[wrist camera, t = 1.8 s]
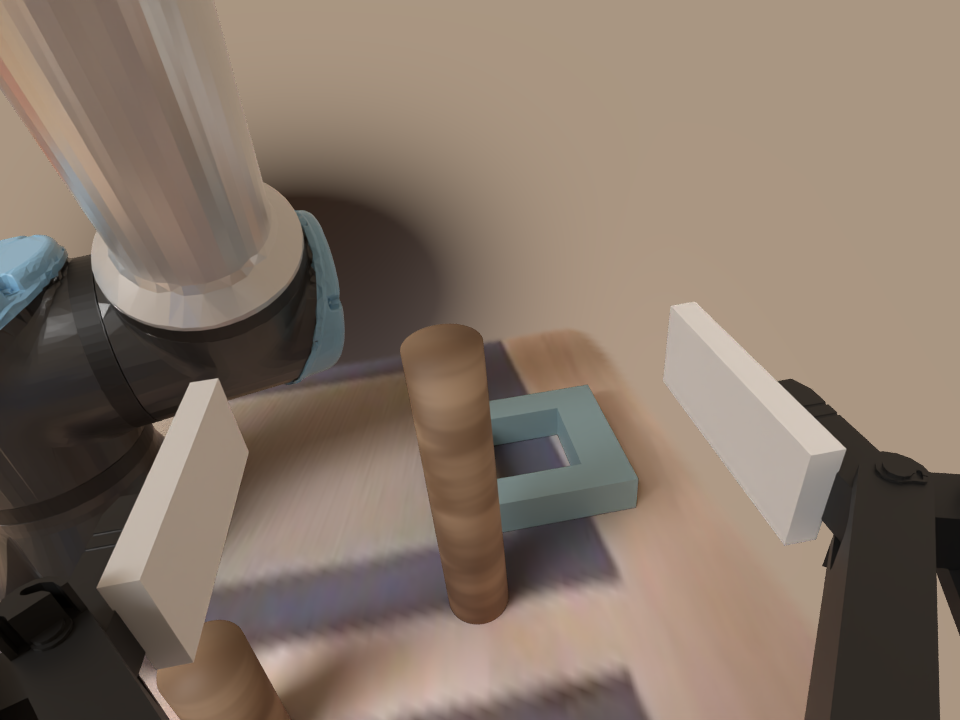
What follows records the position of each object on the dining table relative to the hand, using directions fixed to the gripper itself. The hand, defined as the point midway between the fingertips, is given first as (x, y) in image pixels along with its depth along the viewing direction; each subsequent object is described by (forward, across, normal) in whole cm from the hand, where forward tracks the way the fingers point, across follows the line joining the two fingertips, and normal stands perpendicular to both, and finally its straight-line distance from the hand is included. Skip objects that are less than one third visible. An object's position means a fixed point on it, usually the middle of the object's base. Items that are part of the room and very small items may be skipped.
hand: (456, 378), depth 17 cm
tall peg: (+10, 0, -25) cm, 27 cm away
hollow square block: (+21, +6, -25) cm, 33 cm away
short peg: (+3, -14, -25) cm, 28 cm away
